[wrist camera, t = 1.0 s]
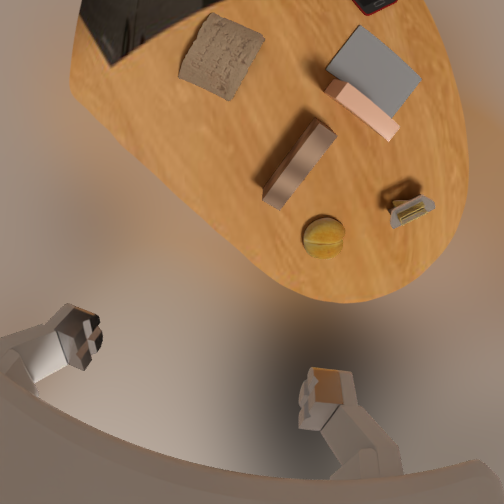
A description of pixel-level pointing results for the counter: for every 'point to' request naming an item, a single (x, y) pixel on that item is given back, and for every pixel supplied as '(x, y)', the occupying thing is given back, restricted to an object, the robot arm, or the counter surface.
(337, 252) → the bread roll
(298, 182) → the bar
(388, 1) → the cell phone
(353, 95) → the tile
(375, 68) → the mat
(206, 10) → the counter surface
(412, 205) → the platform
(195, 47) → the clay tablet
